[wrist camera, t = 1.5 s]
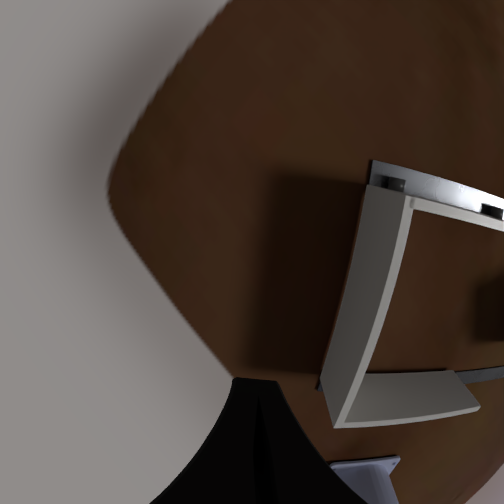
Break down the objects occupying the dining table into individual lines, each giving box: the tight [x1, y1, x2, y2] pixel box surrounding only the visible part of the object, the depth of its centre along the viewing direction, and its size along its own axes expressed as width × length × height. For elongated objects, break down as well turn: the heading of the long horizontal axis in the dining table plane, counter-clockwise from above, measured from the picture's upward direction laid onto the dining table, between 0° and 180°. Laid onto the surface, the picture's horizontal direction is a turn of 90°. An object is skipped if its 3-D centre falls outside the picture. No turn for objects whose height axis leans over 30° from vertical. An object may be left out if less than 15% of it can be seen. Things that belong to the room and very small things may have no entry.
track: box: [317, 160, 504, 391], centre depth 20 cm, size 16×28×1 cm, turn 83°
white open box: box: [320, 177, 504, 428], centre depth 17 cm, size 15×12×5 cm
